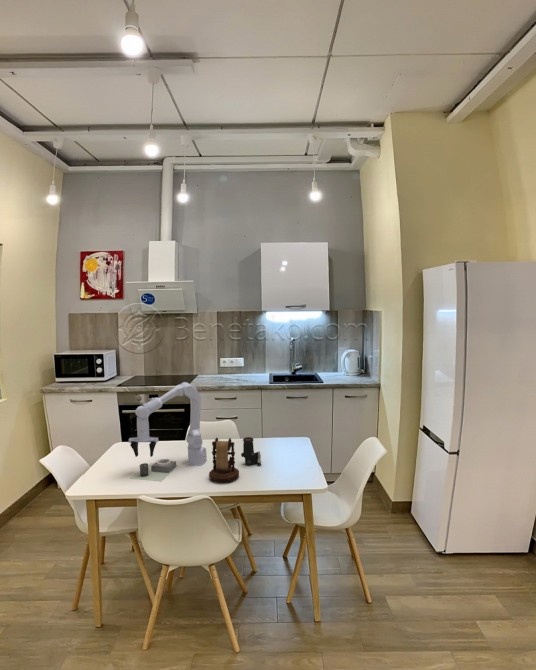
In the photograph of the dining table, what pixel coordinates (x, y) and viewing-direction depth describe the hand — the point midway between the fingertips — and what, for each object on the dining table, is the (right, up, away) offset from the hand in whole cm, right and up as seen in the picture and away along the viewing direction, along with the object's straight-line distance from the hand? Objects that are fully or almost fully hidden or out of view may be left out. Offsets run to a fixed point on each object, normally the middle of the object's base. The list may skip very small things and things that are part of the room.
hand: (144, 456), depth 211 cm
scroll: (+41, -9, -6) cm, 43 cm away
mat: (+6, -9, +1) cm, 11 cm away
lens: (+1, -9, -3) cm, 9 cm away
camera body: (+9, -8, +4) cm, 13 cm away
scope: (+54, -7, +10) cm, 55 cm away
